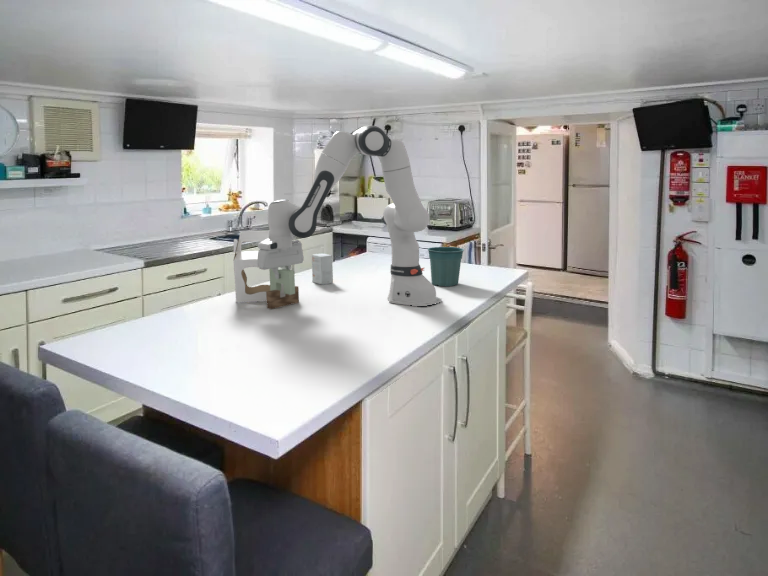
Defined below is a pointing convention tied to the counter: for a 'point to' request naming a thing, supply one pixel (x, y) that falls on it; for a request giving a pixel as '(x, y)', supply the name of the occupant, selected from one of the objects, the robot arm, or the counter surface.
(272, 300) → the upright
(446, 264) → the flower pot
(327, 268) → the small box
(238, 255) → the gable box
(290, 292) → the crosspiece
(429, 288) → the robot arm
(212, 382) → the counter surface
